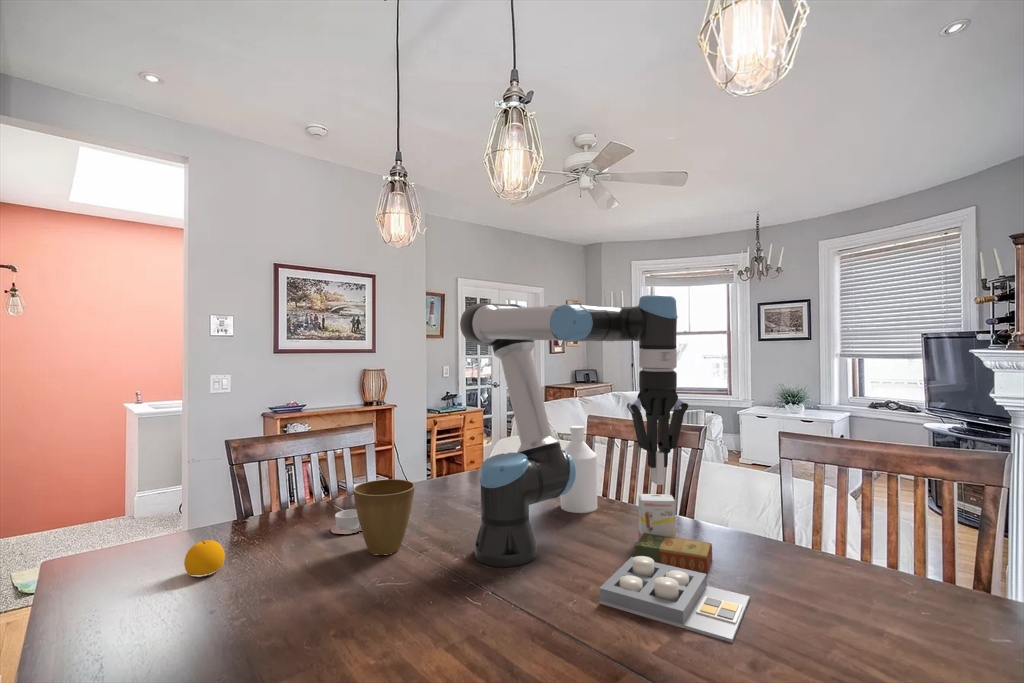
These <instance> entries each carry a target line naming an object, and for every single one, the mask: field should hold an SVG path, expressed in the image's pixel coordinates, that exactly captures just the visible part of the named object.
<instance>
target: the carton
mask: <svg viewBox="0 0 1024 683" xmlns="http://www.w3.org/2000/svg"><path fill="white" fill-rule="evenodd" d="M634 550H635V551H634V557H637V556H646V557H649V558H652V559H653V560H654V562H656V563H661V564H665V565H669V566H674V567H678V568H682V569H687V570H691V571H695V572H700V573H704V574H709V571H710V567H711V565H712V562H713V545H712V543H711V542H707V541H701V540H693V539H688V538H679V537H676V538H673V537H667V536H660V535H653V534H647V533H643V535H642V537H641V538H640V539H639V538H638V541H637V542H636V543H635V547H634Z"/></svg>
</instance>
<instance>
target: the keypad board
mask: <svg viewBox="0 0 1024 683" xmlns="http://www.w3.org/2000/svg"><path fill="white" fill-rule="evenodd" d="M634 557H635V556H631V557H629V558H628V559H627V561H625V563H623V565H621V566H620V567H619V568H618V569H617V570H616V571H615V573H613V574H612V575H611V576H610V577H609V578H608V579H607V580H606V581H605V582H604V583H603V584H602V585H601V586H599V604H600V605H603V606H607V607H610V608H613V609H617V610H620V611H623V612H628V613H631V614H635V615H637V616H640V617H644V618H647V619H651V620H654V621H657V622H661V623H664V624H668V625H670V626H674V627H677V628H681V629H684V630H688V631H691V632H695V633H697V634H702V635H704V636H708V637H712V638H714V639H718V640H722V641H726V642H729V643H734V639H735V637H736V635H737V632H738V630H739V628H740V624H741V622H742V620H743V618H744V615H745V612H746V610H747V608H748V605H749V602H750V600H751V597H750V595H747V594H742V593H739V592H733V591H729V590H726V589H721V588H717V587H713V586H709V585H708V575H707V574H708V573H703V572H697V571H692V570H687V569H682V568H678V567H674V566H669V565H665V564H661V563H656V562H654V576H653V577H650V578H649V577H645V576H641V575H637V574H633V565H632V559H633V558H634ZM672 570H677V571H682V572H685V573H686V574H688V576H689V584H688V586H687V587H686V586H682V585H678V586H679V599H678V600H677V601H674V602H673V601H669V600H665V599H662V598H658V597H655V594H654V580H655V579H656V578H658V577H666V572H668V571H672ZM627 575H631V576H636V577H639V578H640V579H642V581H643V588H642V590H641V591H640V592H636V591H632V590H628V589H625V588H621V587H620V578H621V577H622V576H627Z"/></svg>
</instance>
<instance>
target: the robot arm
mask: <svg viewBox="0 0 1024 683" xmlns="http://www.w3.org/2000/svg"><path fill="white" fill-rule="evenodd" d="M638 300H639V301H638V305H636V306H606V305H604V306H601V305H588V304H587V305H585V304H584V305H582V304H578V303H568V304H562V305H553V306H552V305H549V306H525V305H520V304H516V303H509V304H507V303H504V304H503V303H490V302H480V303H479V302H478V303H475V304H472V305H470V306H469V307H467V308H466V309H465V310H464V311H463V313H462V315H461V316H460V320H459V327H460V331H461V333H462V335H463V337H464V338H465V339H466V340H467V341H468V342H470V343H472V344H473V345H476V346H485V347H486V346H489V347H490V346H491V348H492V352H493V356H495V357H496V358H498V359H499V360H500V362H501V366H502V370H503V373H504V374H503V375H504V379H505V382H506V388H507V391H508V395H509V399H510V404H511V406H512V407H511V408H512V413H513V415H514V420H515V424H516V428H517V432H518V434H517V435H518V437H519V441H520V446H519V447H518V448H517V449H518V450H517V452H507V453H499V454H495V455H492V456H489V457H488V458H486V459H485V460H484V461H483V462H482V464H481V466H480V477H479V483H480V514H481V515H480V516H481V520H480V526H479V528H478V532H477V536H476V541H475V543H474V557H475V559H476V560H477V561H478V562H480V563H482V564H484V565H488V566H492V567H499V568H501V567H504V568H507V567H517V566H521V565H525V564H528V563H530V562H531V561H533V560H534V559H535V558H536V557H537V556H538V548H537V547H538V545H537V540H536V539H535V534H534V531H533V529H532V526H531V523H530V506H531V505H533V504H537V503H538V504H539V503H541V502H545V501H547V500H552V499H557V498H560V496H561V495H563V494H565V493H567V492H568V491H569V490H570V489H571V488H572V485H573V483H574V482H575V477H576V467H575V463H574V460H573V458H572V457H571V455H569V454H568V452H566V451H564V449H562V447H561V443H560V441H559V440H557V439H556V438H554V436H553V434H552V431H551V426H550V423H549V419H548V415H547V410H546V407H545V403H544V399H543V395H542V392H541V387H540V383H539V379H538V376H537V372H536V368H535V364H534V360H533V356H532V350H533V349H534V348H535V341H563V342H567V343H575V342H576V343H577V342H610V343H611V342H632V341H633V342H638V347H639V348H638V353H639V355H638V367H639V368H640V369H641V370H640V371H639V372H638V377H639V378H638V381H639V382H638V387H639V392H638V394H637V399H635V400H634V401H633V402H629V403H627V404H626V407H627V409H628V411H629V413H630V414H631V418H632V423H633V427H634V431H635V435H636V440H637V444H638V447H639V448H640V449H643V451H644V450H645V451H647V467H649V468H650V473H651V475H650V476H651V478H650V481H651V482H652V483H653V484H655V485H656V486H663V485H665V468H667V467H668V465H669V464H668V459H669V458H668V457H669V456H668V454H669V453H671V450H672V449H673V450H675V449H677V446H678V442H679V438H680V434H681V429H682V424H683V420H684V416H685V413H686V412H687V410H688V408H689V403H688V402H683V401H682V400H681V399H679V395H678V393H677V387H678V386H677V385H678V384H677V382H678V380H677V379H678V378H677V376H678V373H677V372H676V370H674V369H677V364H678V363H677V362H678V360H677V359H678V357H677V356H678V355H677V354H678V352H677V334H678V333H677V329H678V328H677V325H678V317H679V316H678V311H677V310H678V309H677V300H676V298H675V296H672V295H671V294H670V295H668V294H649V295H643V296H640V297H639V299H638ZM642 408H643V410H644V411H645V419H646V427H645V422H644V417H643V414H642V412H641V411H642ZM672 410H673V411H672ZM671 411H672V415H671Z"/></svg>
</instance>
